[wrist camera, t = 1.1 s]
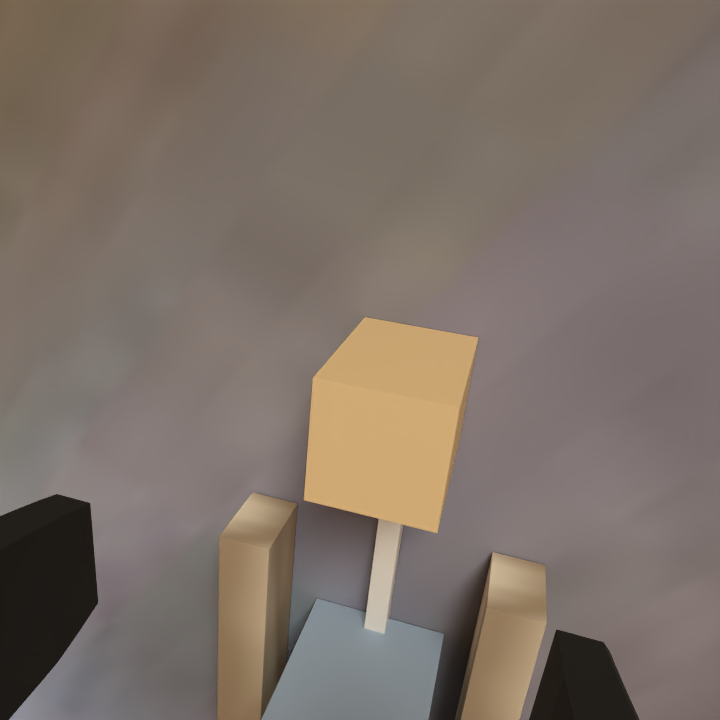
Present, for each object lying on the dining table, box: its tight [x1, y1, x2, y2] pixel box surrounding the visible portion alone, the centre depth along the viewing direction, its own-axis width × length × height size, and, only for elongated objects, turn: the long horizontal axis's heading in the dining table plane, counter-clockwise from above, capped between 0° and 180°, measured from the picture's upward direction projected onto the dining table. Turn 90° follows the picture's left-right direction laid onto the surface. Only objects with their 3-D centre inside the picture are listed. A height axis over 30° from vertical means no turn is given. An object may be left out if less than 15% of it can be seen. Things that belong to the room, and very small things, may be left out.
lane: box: [217, 492, 547, 720], centre depth 21 cm, size 10×12×3 cm
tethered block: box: [261, 317, 478, 720], centre depth 18 cm, size 4×15×6 cm, turn 174°
